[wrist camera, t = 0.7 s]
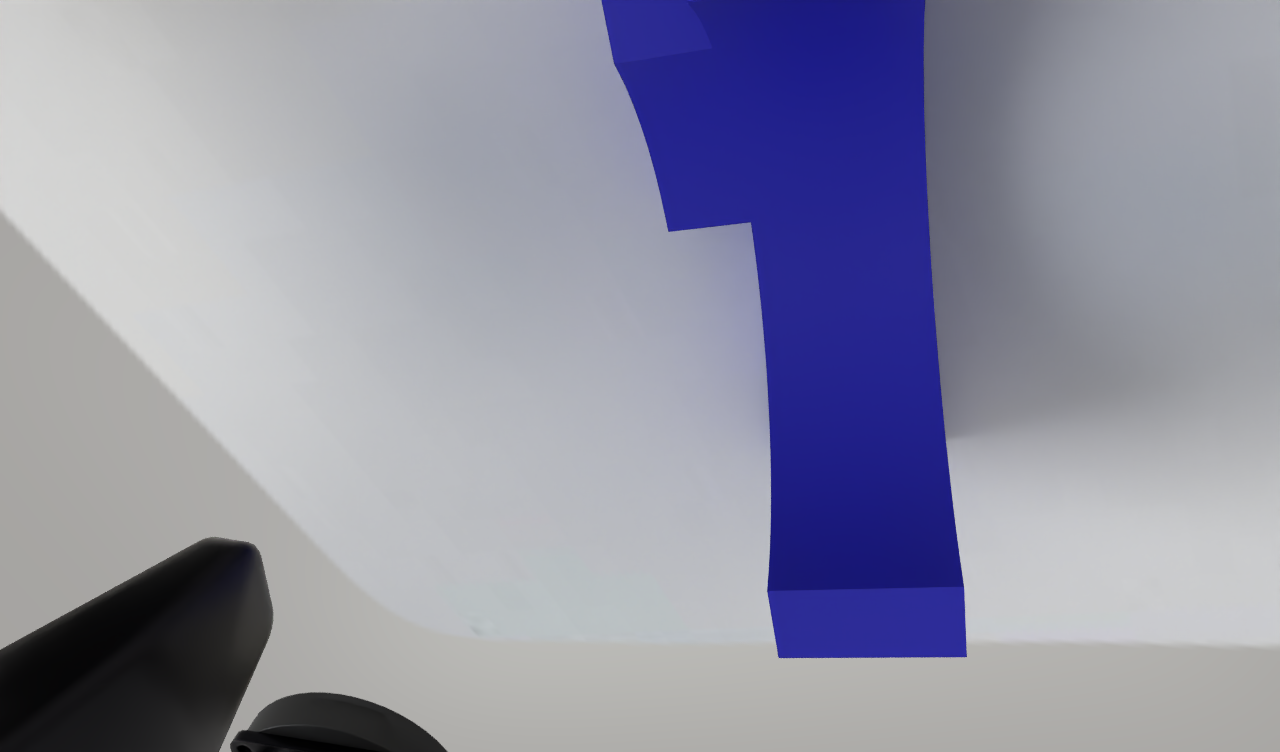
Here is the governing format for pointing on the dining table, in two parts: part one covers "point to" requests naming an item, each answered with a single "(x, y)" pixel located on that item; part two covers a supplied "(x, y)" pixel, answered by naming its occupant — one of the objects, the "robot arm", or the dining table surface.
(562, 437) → the dining table surface
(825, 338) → the cable clip
